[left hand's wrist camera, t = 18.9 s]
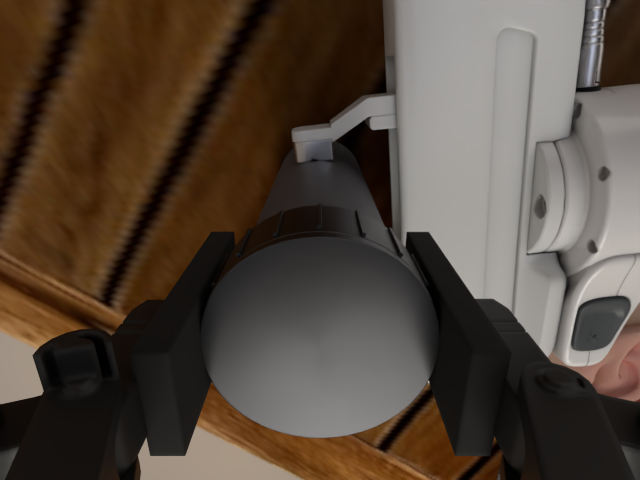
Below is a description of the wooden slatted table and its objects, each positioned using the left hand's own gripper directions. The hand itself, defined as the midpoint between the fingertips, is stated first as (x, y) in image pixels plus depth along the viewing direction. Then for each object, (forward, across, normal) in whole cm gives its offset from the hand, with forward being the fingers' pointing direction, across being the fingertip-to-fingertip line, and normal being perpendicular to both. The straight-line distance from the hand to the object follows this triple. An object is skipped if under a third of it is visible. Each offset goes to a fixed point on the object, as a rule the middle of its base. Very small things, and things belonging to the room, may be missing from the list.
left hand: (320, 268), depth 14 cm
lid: (-4, 0, 0) cm, 4 cm away
